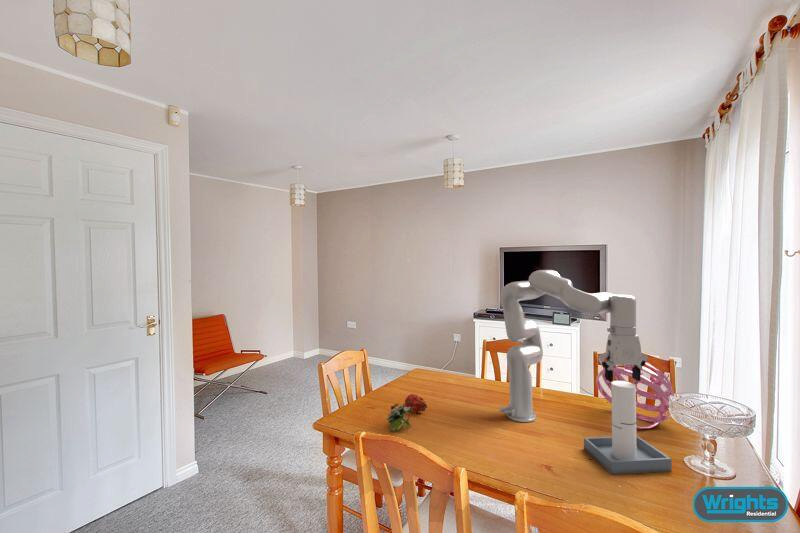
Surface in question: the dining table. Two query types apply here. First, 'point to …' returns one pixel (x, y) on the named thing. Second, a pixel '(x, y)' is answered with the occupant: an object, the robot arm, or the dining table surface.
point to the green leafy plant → (398, 417)
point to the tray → (645, 462)
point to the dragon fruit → (415, 403)
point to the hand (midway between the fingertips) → (622, 380)
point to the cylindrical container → (624, 420)
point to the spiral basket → (653, 384)
